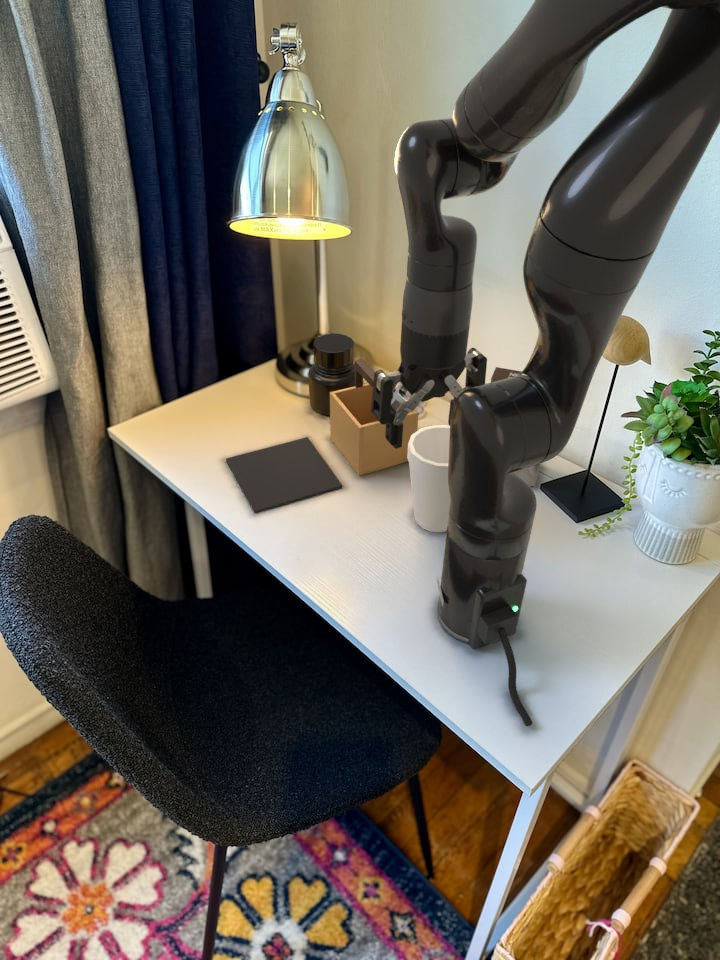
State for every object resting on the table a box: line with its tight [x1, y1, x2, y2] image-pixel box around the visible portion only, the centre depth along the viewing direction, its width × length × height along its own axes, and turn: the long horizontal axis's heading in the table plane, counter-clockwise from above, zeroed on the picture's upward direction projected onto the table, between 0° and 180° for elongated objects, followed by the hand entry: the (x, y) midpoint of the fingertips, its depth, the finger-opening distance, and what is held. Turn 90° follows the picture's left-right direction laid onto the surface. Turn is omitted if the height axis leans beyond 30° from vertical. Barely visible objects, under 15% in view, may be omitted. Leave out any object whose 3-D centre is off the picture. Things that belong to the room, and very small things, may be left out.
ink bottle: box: [308, 333, 355, 416], centre depth 124 cm, size 10×9×12 cm
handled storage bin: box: [329, 358, 419, 477], centre depth 113 cm, size 11×10×14 cm
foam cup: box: [407, 424, 450, 533], centre depth 100 cm, size 10×9×13 cm
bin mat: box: [225, 436, 343, 514], centre depth 112 cm, size 14×14×1 cm
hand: (425, 436), depth 89 cm, fingers open, 8 cm apart
